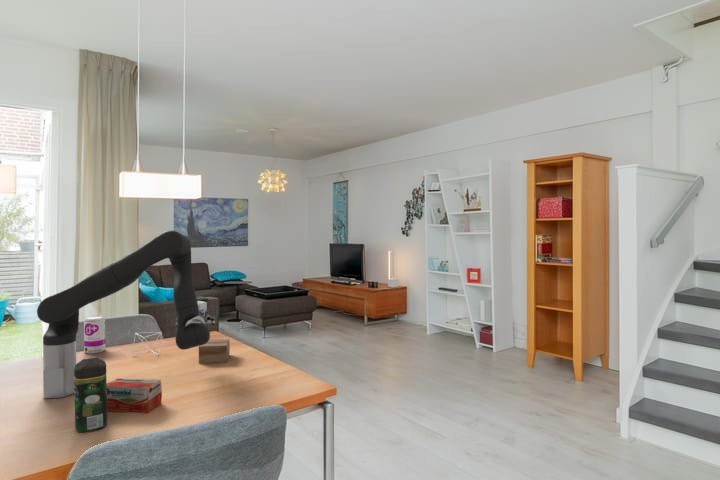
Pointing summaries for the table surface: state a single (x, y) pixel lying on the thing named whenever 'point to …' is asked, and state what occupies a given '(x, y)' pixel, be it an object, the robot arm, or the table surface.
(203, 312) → the syrup box
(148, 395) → the medicine box
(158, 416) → the table surface
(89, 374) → the coffee jar
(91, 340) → the supplement can
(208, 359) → the walnut block
